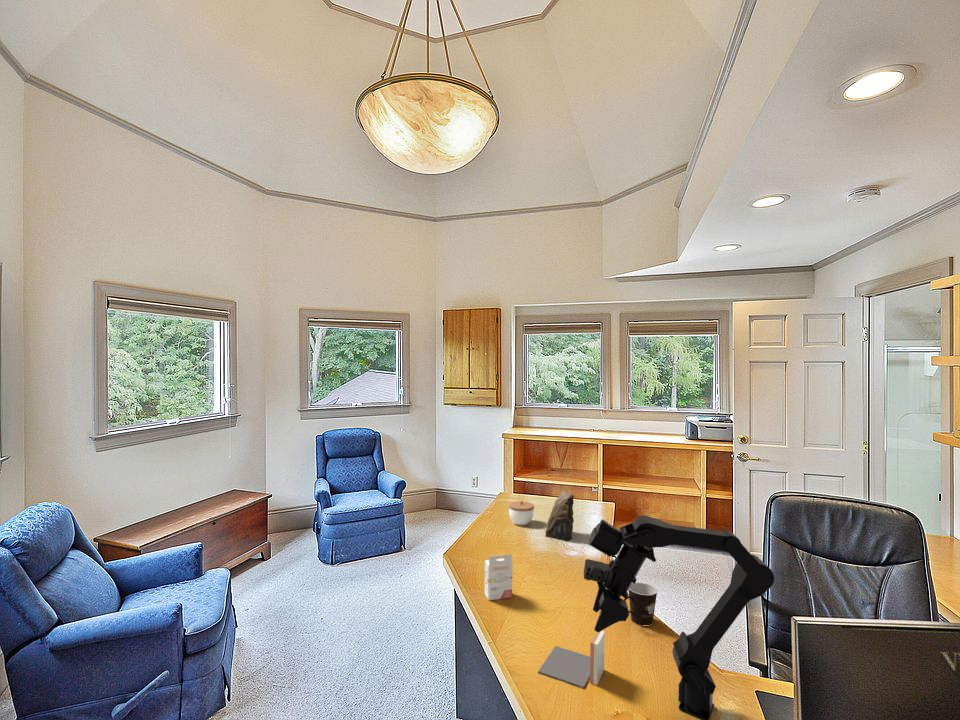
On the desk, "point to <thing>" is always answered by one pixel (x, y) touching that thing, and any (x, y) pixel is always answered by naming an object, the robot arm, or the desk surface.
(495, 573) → the ink cartridge box
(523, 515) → the lidded bowl
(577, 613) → the desk surface
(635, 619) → the coffee mug
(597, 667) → the tile
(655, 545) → the robot arm
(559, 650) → the gray pad
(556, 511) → the brown rock
